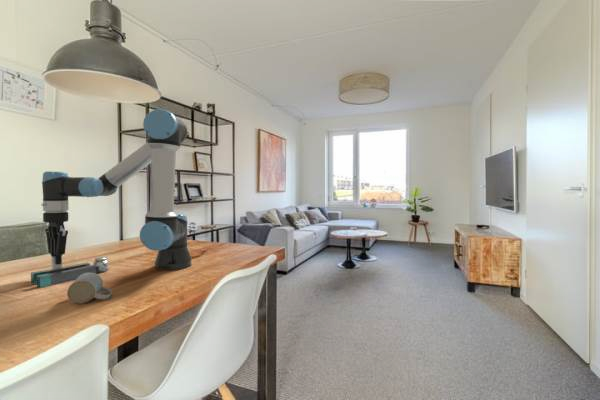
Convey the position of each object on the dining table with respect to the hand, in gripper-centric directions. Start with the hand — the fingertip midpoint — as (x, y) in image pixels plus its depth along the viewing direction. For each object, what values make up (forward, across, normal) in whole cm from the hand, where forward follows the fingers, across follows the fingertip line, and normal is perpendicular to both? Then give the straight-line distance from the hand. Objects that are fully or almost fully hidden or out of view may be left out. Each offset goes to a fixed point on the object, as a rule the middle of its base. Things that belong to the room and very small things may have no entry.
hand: (56, 272), depth 113 cm
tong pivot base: (+2, +8, +3) cm, 8 cm away
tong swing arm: (+1, +6, +3) cm, 7 cm away
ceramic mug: (+2, +36, -6) cm, 37 cm away
